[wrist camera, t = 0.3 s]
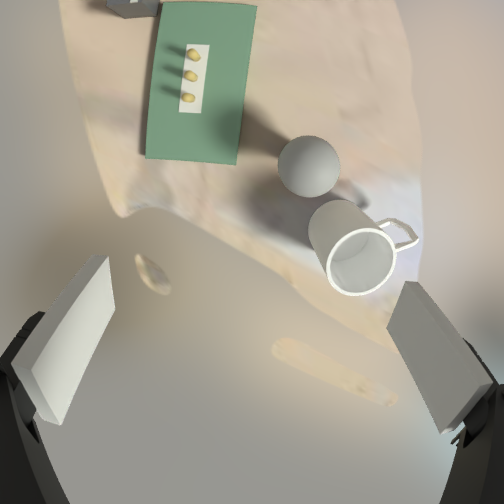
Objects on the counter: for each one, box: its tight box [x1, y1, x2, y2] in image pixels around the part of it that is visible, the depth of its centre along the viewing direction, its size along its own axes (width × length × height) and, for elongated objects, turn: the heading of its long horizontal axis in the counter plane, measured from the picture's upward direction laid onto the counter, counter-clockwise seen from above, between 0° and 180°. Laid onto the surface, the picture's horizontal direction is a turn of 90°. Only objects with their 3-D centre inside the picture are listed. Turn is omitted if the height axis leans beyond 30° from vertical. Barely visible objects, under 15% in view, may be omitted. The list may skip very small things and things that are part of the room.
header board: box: [145, 2, 257, 165], centre depth 30 cm, size 20×11×5 cm, turn 173°
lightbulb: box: [278, 136, 340, 197], centre depth 32 cm, size 6×6×11 cm
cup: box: [308, 200, 419, 296], centre depth 36 cm, size 8×12×10 cm
